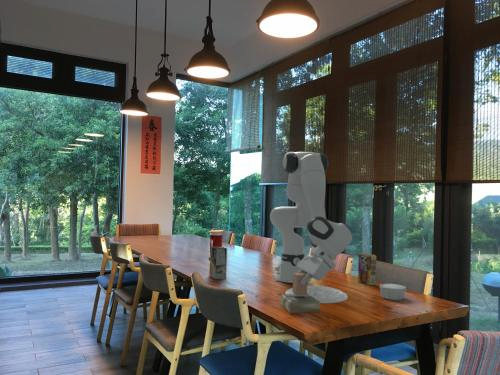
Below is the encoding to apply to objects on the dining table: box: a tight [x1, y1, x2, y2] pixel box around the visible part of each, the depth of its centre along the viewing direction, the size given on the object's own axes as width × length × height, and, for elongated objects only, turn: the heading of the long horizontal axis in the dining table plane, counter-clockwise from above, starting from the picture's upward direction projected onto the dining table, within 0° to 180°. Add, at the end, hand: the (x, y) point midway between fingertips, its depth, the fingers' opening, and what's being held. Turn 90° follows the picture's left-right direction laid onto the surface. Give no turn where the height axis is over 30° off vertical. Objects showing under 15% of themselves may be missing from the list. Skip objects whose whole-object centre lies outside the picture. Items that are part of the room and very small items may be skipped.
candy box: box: [357, 252, 377, 286], centre depth 207 cm, size 9×4×15 cm, turn 29°
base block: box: [280, 293, 321, 314], centre depth 159 cm, size 12×12×4 cm
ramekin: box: [379, 283, 407, 301], centre depth 179 cm, size 11×11×5 cm
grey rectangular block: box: [292, 273, 308, 296], centre depth 159 cm, size 4×4×8 cm
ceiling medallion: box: [284, 284, 349, 304], centre depth 180 cm, size 28×28×3 cm
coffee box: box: [209, 245, 228, 280], centre depth 213 cm, size 9×6×16 cm
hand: (298, 281), depth 159 cm, fingers closed on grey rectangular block, 4 cm apart
